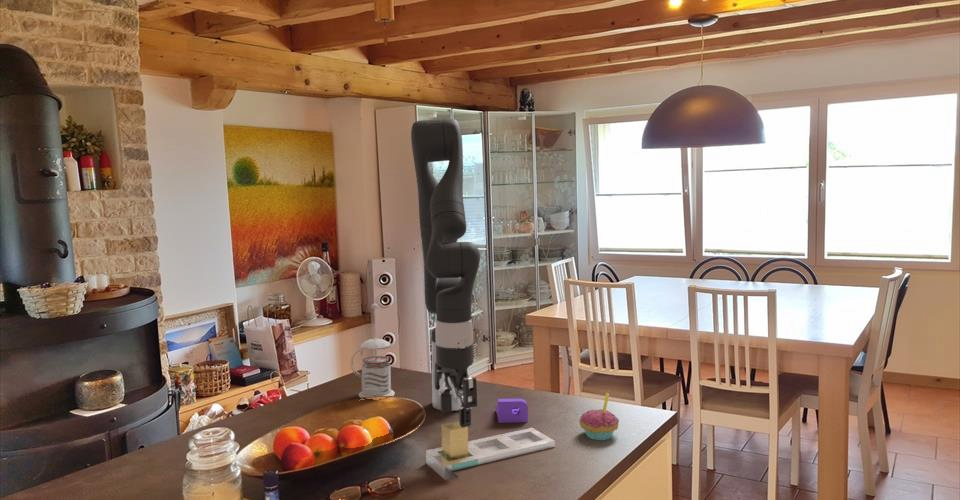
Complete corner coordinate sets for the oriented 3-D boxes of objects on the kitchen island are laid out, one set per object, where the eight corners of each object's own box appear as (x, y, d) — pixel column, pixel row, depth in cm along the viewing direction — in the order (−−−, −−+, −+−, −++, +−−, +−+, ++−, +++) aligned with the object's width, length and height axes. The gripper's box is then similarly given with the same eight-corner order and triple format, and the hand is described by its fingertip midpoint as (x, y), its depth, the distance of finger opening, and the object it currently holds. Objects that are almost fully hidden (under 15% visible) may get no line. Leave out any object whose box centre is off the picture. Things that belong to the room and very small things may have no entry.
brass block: (441, 457, 142) (441, 424, 141) (459, 453, 144) (458, 420, 143) (450, 464, 139) (450, 430, 138) (468, 460, 141) (467, 427, 140)
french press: (392, 399, 184) (390, 306, 181) (348, 400, 184) (345, 307, 181) (397, 388, 193) (395, 300, 191) (355, 388, 194) (353, 300, 191)
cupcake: (620, 437, 156) (621, 385, 155) (615, 451, 148) (616, 397, 147) (582, 432, 159) (583, 382, 158) (575, 446, 151) (575, 393, 150)
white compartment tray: (426, 463, 143) (425, 450, 143) (532, 439, 156) (532, 427, 155) (445, 480, 135) (444, 466, 135) (555, 453, 148) (555, 441, 147)
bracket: (527, 429, 163) (527, 401, 162) (498, 430, 162) (498, 401, 162) (522, 412, 174) (522, 385, 174) (495, 412, 174) (495, 386, 173)
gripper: (422, 336, 143) (424, 411, 145) (453, 352, 131) (454, 434, 133) (455, 331, 147) (456, 405, 149) (488, 347, 134) (488, 427, 136)
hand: (455, 419), depth 141 cm, fingers open, 8 cm apart
